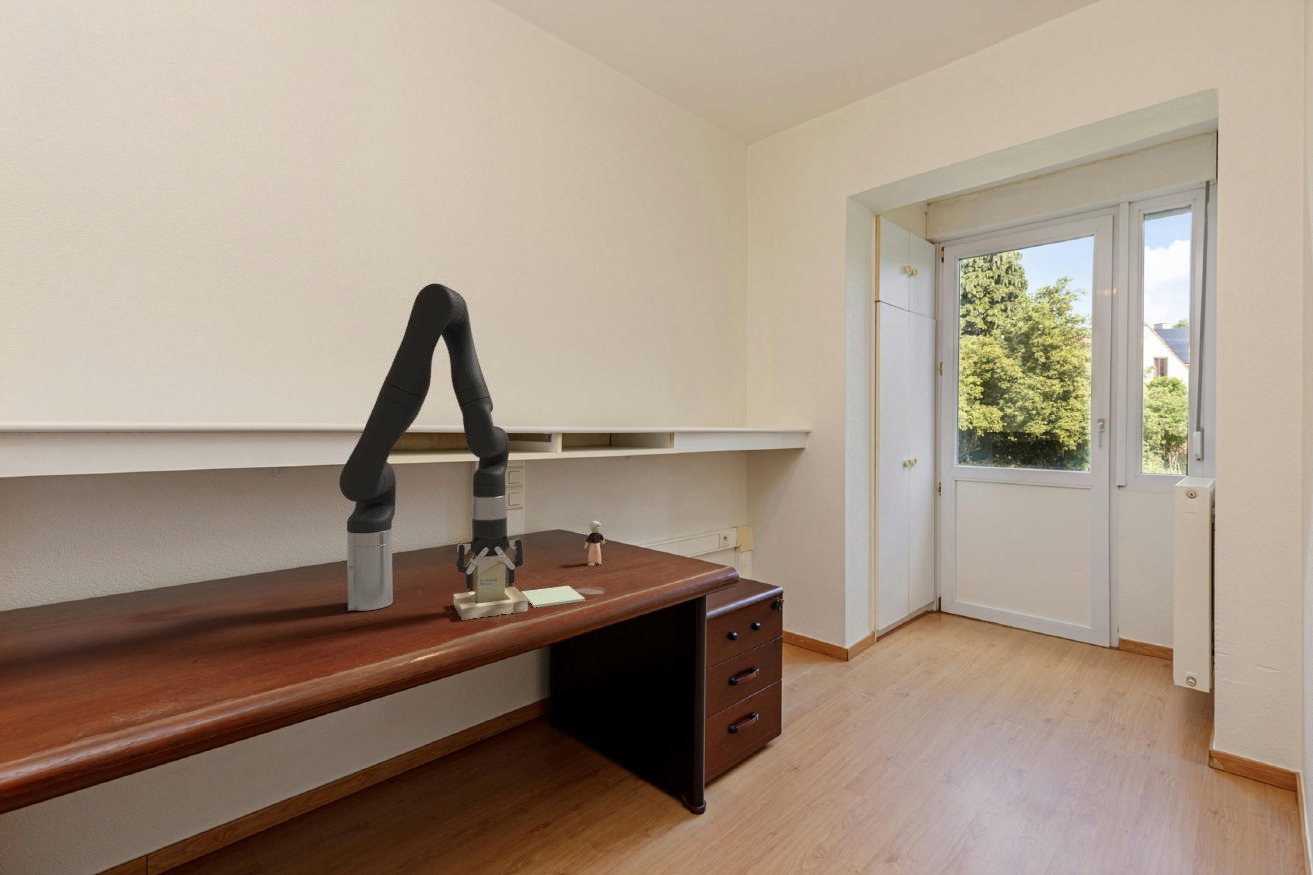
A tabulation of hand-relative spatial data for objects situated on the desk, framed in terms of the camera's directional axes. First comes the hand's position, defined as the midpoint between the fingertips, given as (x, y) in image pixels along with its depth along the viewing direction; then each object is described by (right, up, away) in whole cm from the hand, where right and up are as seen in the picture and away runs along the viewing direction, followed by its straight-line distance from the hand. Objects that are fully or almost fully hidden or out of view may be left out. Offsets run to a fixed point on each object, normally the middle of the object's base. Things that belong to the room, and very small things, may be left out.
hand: (490, 587), depth 140 cm
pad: (+13, -4, +9) cm, 16 cm away
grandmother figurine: (+20, -3, +42) cm, 46 cm away
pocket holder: (0, -5, 0) cm, 5 cm away
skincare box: (0, -5, 0) cm, 5 cm away
